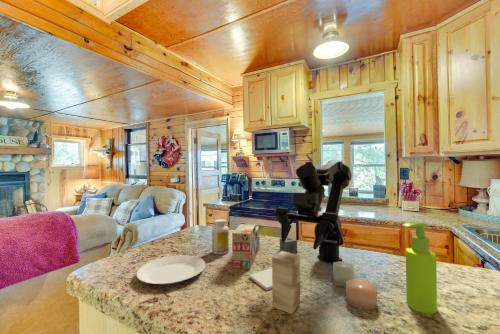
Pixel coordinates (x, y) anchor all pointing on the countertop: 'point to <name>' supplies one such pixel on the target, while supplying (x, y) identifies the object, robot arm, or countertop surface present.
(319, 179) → the robot arm
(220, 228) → the supplement bottle
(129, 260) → the countertop surface
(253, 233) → the stack of blocks
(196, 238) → the countertop surface
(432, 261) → the soap dispenser
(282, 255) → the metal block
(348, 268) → the sage jar
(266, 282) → the tile
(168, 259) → the plate
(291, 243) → the dice cube
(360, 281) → the pink soap bar
